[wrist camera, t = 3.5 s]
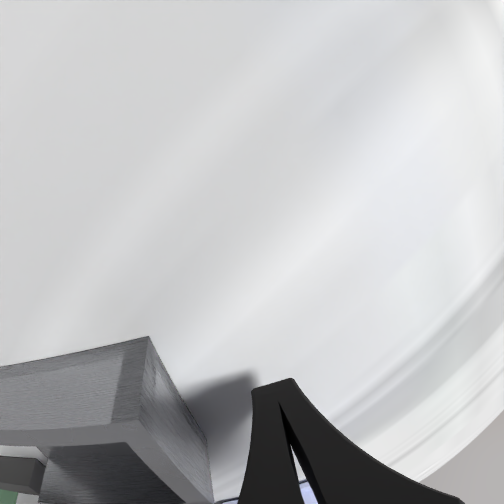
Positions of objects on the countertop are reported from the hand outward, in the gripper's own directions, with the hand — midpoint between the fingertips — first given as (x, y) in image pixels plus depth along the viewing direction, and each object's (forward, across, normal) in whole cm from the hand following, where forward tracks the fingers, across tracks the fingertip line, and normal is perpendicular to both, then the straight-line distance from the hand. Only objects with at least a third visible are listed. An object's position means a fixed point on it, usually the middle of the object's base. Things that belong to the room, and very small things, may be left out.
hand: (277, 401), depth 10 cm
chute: (+1, +7, 0) cm, 7 cm away
